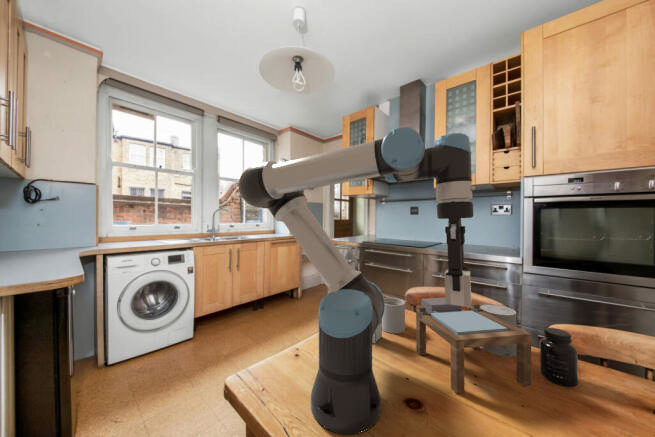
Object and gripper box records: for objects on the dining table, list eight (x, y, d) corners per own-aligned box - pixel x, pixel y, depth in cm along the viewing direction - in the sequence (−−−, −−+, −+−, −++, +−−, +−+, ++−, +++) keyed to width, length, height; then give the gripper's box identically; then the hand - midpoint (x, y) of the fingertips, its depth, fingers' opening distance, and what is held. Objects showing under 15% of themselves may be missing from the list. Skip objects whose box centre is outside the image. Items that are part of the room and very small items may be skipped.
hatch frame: (456, 394, 55) (456, 333, 55) (416, 351, 72) (416, 305, 73) (531, 385, 57) (531, 327, 58) (475, 346, 75) (474, 302, 75)
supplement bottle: (541, 367, 65) (540, 323, 65) (577, 379, 60) (577, 331, 60) (539, 379, 60) (538, 331, 60) (578, 393, 55) (577, 341, 55)
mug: (398, 336, 82) (398, 307, 82) (374, 327, 88) (374, 301, 89) (411, 325, 90) (411, 299, 90) (388, 318, 96) (388, 294, 97)
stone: (445, 304, 55) (444, 273, 55) (447, 297, 59) (446, 269, 59) (470, 307, 52) (469, 275, 52) (471, 300, 56) (470, 271, 56)
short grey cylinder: (517, 361, 68) (516, 317, 68) (477, 350, 73) (477, 310, 73) (516, 346, 75) (515, 307, 75) (480, 337, 81) (480, 301, 81)
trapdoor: (457, 342, 59) (456, 326, 59) (415, 311, 79) (415, 299, 79) (508, 338, 61) (508, 322, 61) (454, 308, 81) (454, 297, 81)
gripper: (471, 197, 46) (477, 317, 46) (473, 202, 61) (477, 292, 61) (430, 200, 50) (435, 310, 50) (441, 204, 65) (445, 289, 65)
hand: (458, 300), depth 55 cm, fingers closed on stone, 5 cm apart
